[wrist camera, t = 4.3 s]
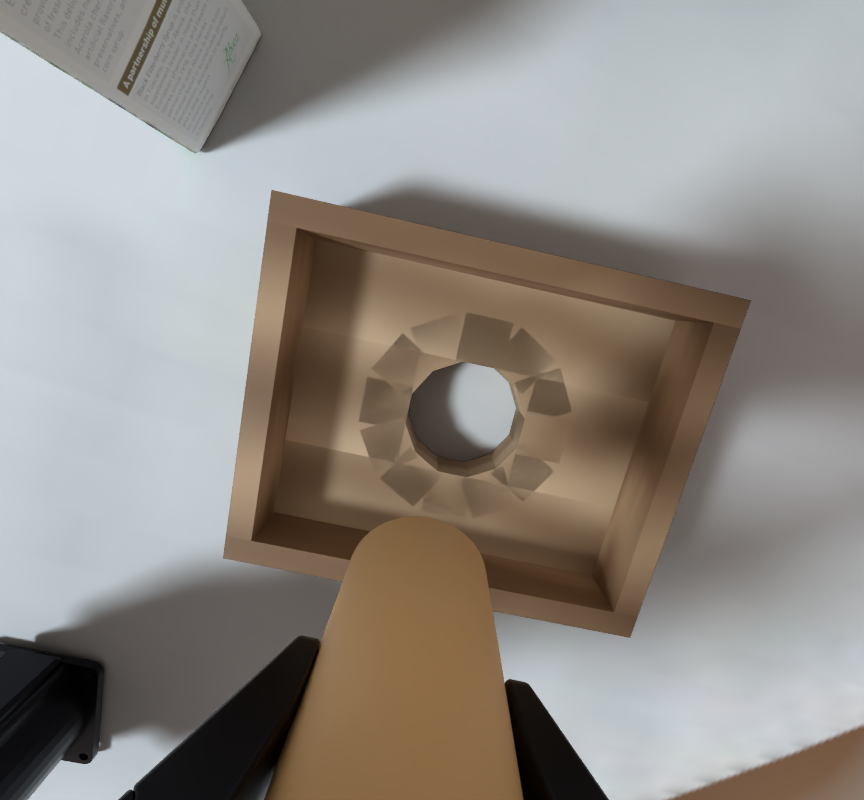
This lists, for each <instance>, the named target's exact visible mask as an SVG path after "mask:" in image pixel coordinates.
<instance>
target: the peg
mask: <svg viewBox="0 0 864 800" xmlns="http://www.w3.org/2000/svg"><path fill="white" fill-rule="evenodd" d="M264 800H524V799H523V793H522V787H521V781H520V775H519V769H518V763H517V757H516V751H515V745H514V738H513V732H512V726H511V720H510V714H509V708H508V702H507V696H506V690H505V684H504V677H503V671H502V665H501V659H500V653H499V647H498V641H497V635H496V629H495V623H494V616H493V610H492V604H491V598H490V592H489V586H488V580H487V574H486V569H485V564H484V561H483V559H482V556H481V554H480V552H479V550H478V549H477V547H476V546H475V544H474V543H473V542H472V541H471V540H470V539H469V538H468V537H467V536H466V535H465V534H464V533H463V532H461V531H460V530H459V529H457V528H456V527H454V526H452V525H450V524H448V523H446V522H443V521H441V520H437V519H434V518H429V517H420V516H411V517H402V518H398V519H394V520H391V521H388V522H386V523H384V524H382V525H380V526H378V527H376V528H375V529H373V530H372V531H370V532H369V533H368V534H367V535H366V536H365V537H364V538H363V539H362V540H361V541H360V543H359V544H358V546H357V547H356V549H355V550H354V553H353V555H352V557H351V560H350V562H349V565H348V568H347V571H346V574H345V576H344V579H343V582H342V585H341V587H340V590H339V593H338V596H337V598H336V601H335V604H334V607H333V610H332V612H331V615H330V618H329V621H328V623H327V626H326V629H325V632H324V634H323V637H322V640H321V643H320V647H319V650H318V652H317V655H316V658H315V661H314V664H313V666H312V669H311V672H310V675H309V677H308V680H307V683H306V686H305V689H304V691H303V694H302V697H301V700H300V703H299V705H298V708H297V711H296V713H295V716H294V719H293V721H292V724H291V726H290V729H289V732H288V734H287V737H286V740H285V742H284V745H283V748H282V751H281V753H280V756H279V759H278V762H277V765H276V767H275V770H274V773H273V776H272V778H271V781H270V784H269V787H268V789H267V792H266V795H265V798H264Z"/></svg>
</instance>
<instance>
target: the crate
mask: <svg viewBox="0 0 864 800" xmlns="http://www.w3.org/2000/svg"><path fill="white" fill-rule="evenodd" d="M750 302H751V300H747V299H743V298H738V297H734V296H730V295H725V294H721V293H717V292H712V291H708V290H703V289H699V288H695V287H690V286H686V285H682V284H677V283H673V282H669V281H664V280H660V279H656V278H651V277H647V276H643V275H638V274H634V273H630V272H625V271H621V270H617V269H612V268H608V267H604V266H599V265H595V264H591V263H586V262H582V261H578V260H573V259H569V258H565V257H560V256H556V255H551V254H547V253H543V252H538V251H534V250H530V249H525V248H521V247H517V246H512V245H508V244H504V243H499V242H495V241H491V240H486V239H482V238H478V237H473V236H469V235H465V234H460V233H456V232H452V231H447V230H443V229H439V228H434V227H430V226H426V225H421V224H417V223H413V222H408V221H404V220H399V219H395V218H391V217H386V216H382V215H378V214H373V213H369V212H365V211H360V210H356V209H352V208H347V207H343V206H339V205H334V204H330V203H326V202H321V201H317V200H313V199H308V198H304V197H300V196H295V195H291V194H287V193H282V192H278V191H274V190H272V191H271V199H270V206H269V214H268V221H267V229H266V237H265V244H264V252H263V259H262V267H261V275H260V282H259V290H258V297H257V305H256V312H255V320H254V328H253V335H252V343H251V350H250V358H249V366H248V373H247V381H246V388H245V396H244V403H243V411H242V419H241V426H240V434H239V441H238V449H237V457H236V464H235V472H234V479H233V487H232V495H231V502H230V510H229V517H228V525H227V532H226V540H225V548H224V555H223V558H225V559H230V560H235V561H240V562H245V563H250V564H256V565H261V566H266V567H271V568H276V569H281V570H286V571H291V572H297V573H302V574H307V575H312V576H317V577H322V578H327V579H332V580H337V581H343V579H344V576H345V574H346V571H347V568H348V565H349V562H350V560H351V557H352V555H353V553H354V550H355V549H356V547H357V546H358V544H359V543H360V541H361V540H362V539H363V538H364V537H365V536H366V535H367V534H368V533H369V532H370V531H372V530H373V529H375V528H376V527H378V526H380V525H382V524H384V523H386V522H388V521H391V520H394V519H398V518H402V517H411V516H420V517H429V518H434V519H437V520H441V521H443V522H446V523H448V524H450V525H452V526H454V527H456V528H457V529H459V530H460V531H461V532H463V533H464V534H465V535H466V536H467V537H468V538H469V539H470V540H471V541H472V542H473V543H474V544H475V546H476V547H477V549H478V550H479V552H480V554H481V556H482V559H483V561H484V564H485V569H486V574H487V580H488V586H489V592H490V598H491V604H492V610H493V611H496V612H501V613H507V614H512V615H517V616H522V617H527V618H532V619H537V620H542V621H547V622H553V623H558V624H563V625H568V626H573V627H578V628H583V629H588V630H594V631H599V632H604V633H609V634H614V635H619V636H624V637H629V638H630V636H631V633H632V631H633V628H634V625H635V622H636V619H637V617H638V614H639V611H640V608H641V605H642V603H643V600H644V597H645V594H646V592H647V589H648V586H649V583H650V580H651V578H652V575H653V572H654V569H655V566H656V564H657V561H658V558H659V555H660V553H661V550H662V547H663V544H664V541H665V539H666V536H667V533H668V530H669V527H670V525H671V522H672V519H673V516H674V514H675V511H676V508H677V505H678V502H679V500H680V497H681V494H682V491H683V488H684V486H685V483H686V480H687V477H688V474H689V472H690V469H691V466H692V463H693V461H694V458H695V455H696V452H697V449H698V447H699V444H700V441H701V438H702V435H703V433H704V430H705V427H706V424H707V422H708V419H709V416H710V413H711V410H712V408H713V405H714V402H715V399H716V396H717V394H718V391H719V388H720V385H721V383H722V380H723V377H724V374H725V371H726V369H727V366H728V363H729V360H730V357H731V355H732V352H733V349H734V346H735V343H736V341H737V338H738V335H739V332H740V330H741V327H742V324H743V321H744V318H745V316H746V313H747V310H748V307H749V304H750ZM460 362H468V363H472V364H477V365H482V366H486V367H491V368H494V369H495V370H497V371H498V372H499V373H500V374H501V375H502V376H503V377H504V378H505V379H506V380H507V381H508V382H509V384H510V388H511V391H512V395H513V398H514V402H515V405H516V411H515V415H514V419H513V423H512V426H511V430H510V434H509V435H508V436H507V437H506V438H505V439H504V440H503V441H502V442H501V443H500V445H499V446H498V447H497V448H496V449H495V450H494V451H493V452H492V453H491V454H489V455H485V456H482V457H479V458H475V459H472V460H469V461H465V462H462V461H457V460H452V459H447V458H443V457H438V456H436V455H435V454H434V453H433V452H432V451H430V450H429V449H428V448H427V447H426V446H425V445H424V444H422V443H421V442H420V441H419V440H418V439H417V438H416V435H415V432H414V429H413V426H412V423H411V420H410V417H409V414H408V411H409V407H410V402H411V397H412V393H413V392H414V391H415V390H416V389H417V388H418V387H419V386H420V385H421V383H422V382H423V381H424V380H425V379H426V378H427V377H428V376H429V375H430V374H431V373H432V371H435V370H438V369H441V368H444V367H447V366H451V365H454V364H457V363H460Z"/></svg>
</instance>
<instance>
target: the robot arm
mask: <svg viewBox="0 0 864 800" xmlns="http://www.w3.org/2000/svg"><path fill="white" fill-rule="evenodd" d="M319 647H320V641H319V640H318V639H315V638H311V637H306V636H299V637H297V638H296V639H295V640H294V641H293V642H292V643H291V644H290V645H288V646H287V647H286V648H285V649H284V650H283V651H282V652H281V653H280V654H279V655H277V656H276V657H275V658H274V659H273V660H272V661H271V662H270V663H269V664H267V665H266V666H265V667H264V668H263V669H262V670H261V671H260V672H259V673H258V674H256V675H255V676H254V677H253V678H252V679H251V680H250V681H249V682H248V683H247V684H245V685H244V686H243V687H242V688H241V689H240V690H239V691H238V692H237V693H236V694H234V695H233V696H232V697H231V698H230V699H229V700H228V701H227V702H226V703H225V704H223V705H222V706H221V707H220V708H219V709H218V710H217V711H216V712H215V713H214V714H212V715H211V716H210V717H209V718H208V719H207V720H206V721H205V722H204V723H203V724H201V725H200V726H199V727H198V728H197V729H196V730H195V731H194V732H193V733H192V734H190V735H189V736H188V737H187V738H186V739H185V740H184V741H183V742H182V743H180V744H179V745H178V746H177V747H176V748H175V749H174V750H173V751H172V752H171V753H169V754H168V755H167V756H166V757H165V758H164V759H163V760H162V761H161V762H160V763H158V764H157V765H156V766H155V767H154V768H153V769H152V770H151V771H150V772H149V773H147V774H146V775H145V776H144V777H143V778H142V779H141V780H140V781H139V782H138V783H136V784H135V786H134V790H128V791H127V792H126V793H125V794H124V795H123V796H122V797H121V798H120V799H118V800H264V798H265V795H266V792H267V789H268V787H269V784H270V781H271V778H272V776H273V773H274V770H275V767H276V765H277V762H278V759H279V756H280V753H281V751H282V748H283V745H284V742H285V740H286V737H287V734H288V732H289V729H290V726H291V724H292V721H293V719H294V716H295V713H296V711H297V708H298V705H299V703H300V700H301V697H302V694H303V691H304V689H305V686H306V683H307V680H308V677H309V675H310V672H311V669H312V666H313V664H314V661H315V658H316V655H317V652H318V650H319ZM103 676H104V668H103V666H102V665H101V664H100V663H98V662H96V661H91V660H85V659H80V658H74V657H69V656H63V655H58V654H53V653H47V652H42V651H36V650H31V649H25V648H20V647H14V646H9V645H4V644H0V800H28V799H29V798H30V796H31V795H32V794H33V793H34V792H35V790H36V789H37V788H38V787H39V785H40V784H41V783H42V782H43V781H44V779H45V778H46V777H47V776H48V775H49V773H50V772H51V771H52V770H53V769H54V767H55V766H56V765H57V764H58V763H59V761H60V760H64V761H70V762H76V763H81V764H88V763H90V762H91V761H92V760H93V758H94V757H95V756H96V754H97V752H98V744H99V730H100V717H101V703H102V690H103ZM505 690H506V696H507V702H508V708H509V714H510V720H511V726H512V732H513V738H514V745H515V751H516V757H517V763H518V769H519V775H520V781H521V787H522V793H523V799H524V800H609V799H608V798H607V796H606V795H605V793H604V792H603V790H602V789H601V788H600V786H599V785H598V783H597V782H596V780H595V779H594V777H593V776H592V775H591V773H590V772H589V770H588V769H587V767H586V766H585V764H584V763H583V762H582V760H581V759H580V757H579V756H578V754H577V753H576V751H575V750H574V749H573V747H572V746H571V744H570V743H569V741H568V740H567V738H566V737H565V736H564V734H563V733H562V731H561V730H560V728H559V727H558V725H557V724H556V723H555V721H554V720H553V718H552V717H551V715H550V714H549V712H548V711H547V710H546V708H545V707H544V705H543V704H542V702H541V701H540V699H539V698H538V697H537V695H536V694H535V692H534V691H533V689H532V688H531V687H530V685H529V684H527V683H525V682H521V681H516V680H512V679H509V680H507V681H506V682H505Z"/></svg>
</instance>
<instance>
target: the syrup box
mask: <svg viewBox="0 0 864 800" xmlns="http://www.w3.org/2000/svg"><path fill="white" fill-rule="evenodd" d="M0 32H1V33H2V34H4V35H5V36H7V37H9V38H10V39H12V40H13V41H15V42H17V43H18V44H20V45H22V46H23V47H25V48H26V49H28V50H30V51H31V52H33V53H34V54H36V55H38V56H39V57H41V58H42V59H44V60H45V61H47V62H49V63H50V64H52V65H53V66H55V67H57V68H58V69H60V70H62V71H63V72H65V73H66V74H68V75H70V76H71V77H73V78H75V79H76V80H78V81H79V82H81V83H83V84H84V85H86V86H87V87H89V88H91V89H92V90H94V91H95V92H97V93H99V94H100V95H102V96H103V97H105V98H107V99H108V100H110V101H112V102H113V103H115V104H116V105H118V106H119V107H121V108H123V109H124V110H126V111H127V112H129V113H131V114H132V115H134V116H135V117H137V118H139V119H140V120H142V121H143V122H145V123H146V124H148V125H149V126H151V127H153V128H155V129H156V130H158V131H159V132H161V133H163V134H164V135H166V136H167V137H169V138H171V139H172V140H174V141H175V142H177V143H179V144H180V145H182V146H184V147H185V148H187V149H189V150H190V151H192V152H194V153H198V152H199V151H200V150H201V148H202V146H203V145H204V143H205V141H206V139H207V137H208V136H209V134H210V132H211V131H212V129H213V127H214V125H215V124H216V122H217V120H218V118H219V116H220V114H221V112H222V111H223V109H224V107H225V105H226V103H227V101H228V99H229V97H230V95H231V93H232V91H233V89H234V87H235V85H236V83H237V81H238V79H239V78H240V76H241V74H242V72H243V70H244V68H245V66H246V64H247V62H248V60H249V58H250V56H251V54H252V52H253V50H254V48H255V46H256V44H257V42H258V40H259V38H260V36H261V32H260V29H259V27H258V25H257V24H256V22H255V21H254V19H253V18H252V16H251V14H250V13H249V11H248V10H247V8H246V6H245V5H244V3H243V2H242V0H0Z"/></svg>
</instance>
